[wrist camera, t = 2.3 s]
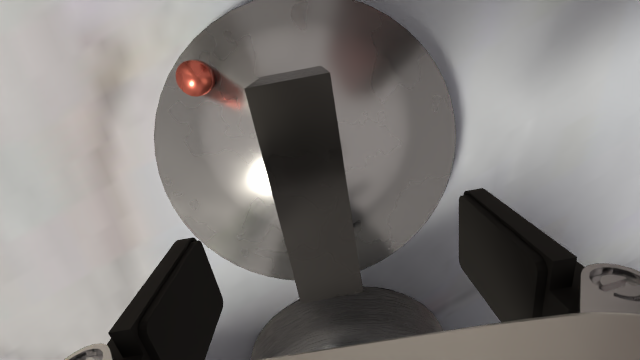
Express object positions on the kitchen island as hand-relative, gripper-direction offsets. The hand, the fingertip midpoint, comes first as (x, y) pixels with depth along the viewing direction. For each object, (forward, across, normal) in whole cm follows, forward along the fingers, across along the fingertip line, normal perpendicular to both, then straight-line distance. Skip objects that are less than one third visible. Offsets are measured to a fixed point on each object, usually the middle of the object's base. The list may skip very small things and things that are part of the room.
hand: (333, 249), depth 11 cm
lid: (+8, +1, -1) cm, 8 cm away
